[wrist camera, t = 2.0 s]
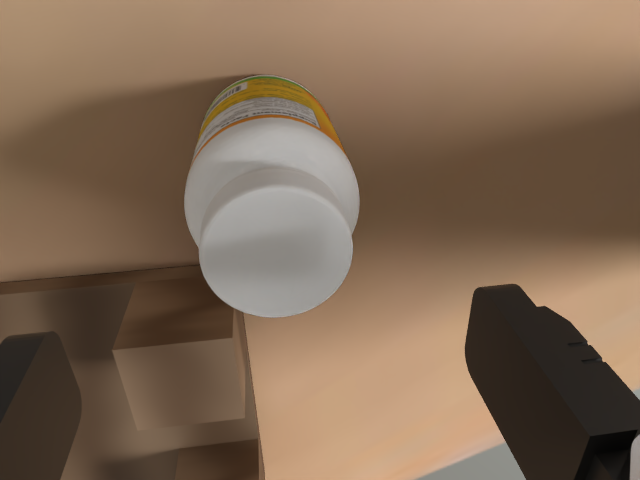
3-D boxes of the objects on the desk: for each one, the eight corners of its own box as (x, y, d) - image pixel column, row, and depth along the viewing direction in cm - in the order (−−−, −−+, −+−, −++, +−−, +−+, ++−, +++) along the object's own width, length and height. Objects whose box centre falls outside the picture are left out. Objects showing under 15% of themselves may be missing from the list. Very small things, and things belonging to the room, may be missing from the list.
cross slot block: (236, 261, 24) (232, 337, 19) (264, 472, 32) (267, 562, 27) (-122, 293, 23) (-220, 384, 18) (2, 505, 31) (-43, 607, 26)
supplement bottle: (320, 200, 23) (360, 343, 15) (199, 190, 22) (168, 336, 14) (340, 80, 20) (402, 170, 12) (204, 63, 19) (170, 147, 11)
